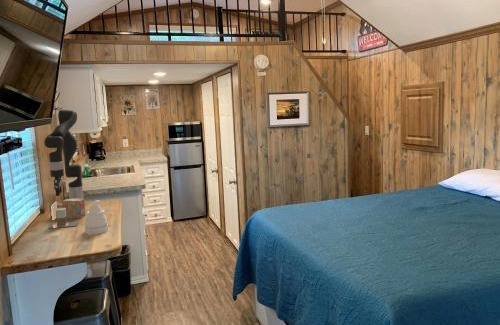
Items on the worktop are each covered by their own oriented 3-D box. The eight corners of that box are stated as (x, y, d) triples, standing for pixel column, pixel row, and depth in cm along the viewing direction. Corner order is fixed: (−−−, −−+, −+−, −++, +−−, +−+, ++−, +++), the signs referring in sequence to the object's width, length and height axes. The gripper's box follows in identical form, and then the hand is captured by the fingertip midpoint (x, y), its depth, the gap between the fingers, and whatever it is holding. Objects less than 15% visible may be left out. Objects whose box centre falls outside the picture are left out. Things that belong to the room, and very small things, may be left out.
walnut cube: (58, 223, 249) (57, 216, 248) (66, 223, 250) (66, 215, 249) (57, 226, 244) (56, 218, 243) (65, 225, 245) (65, 217, 245)
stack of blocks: (50, 218, 265) (48, 200, 263) (55, 216, 271) (53, 198, 269) (81, 218, 264) (80, 200, 262) (85, 215, 270) (84, 198, 268)
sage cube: (57, 216, 248) (56, 208, 247) (66, 215, 249) (65, 207, 249) (56, 218, 243) (55, 210, 243) (65, 217, 245) (64, 209, 244)
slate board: (51, 224, 250) (51, 223, 249) (78, 222, 254) (78, 220, 254) (48, 229, 240) (48, 228, 240) (76, 226, 245) (76, 225, 245)
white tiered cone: (100, 226, 244) (97, 198, 241) (112, 229, 236) (110, 200, 234) (80, 231, 233) (78, 202, 231) (93, 235, 226) (91, 205, 224)
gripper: (51, 167, 247) (54, 192, 250) (47, 170, 234) (50, 197, 236) (64, 166, 250) (67, 191, 252) (61, 170, 236) (64, 196, 239)
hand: (59, 194), depth 244 cm, fingers open, 8 cm apart
